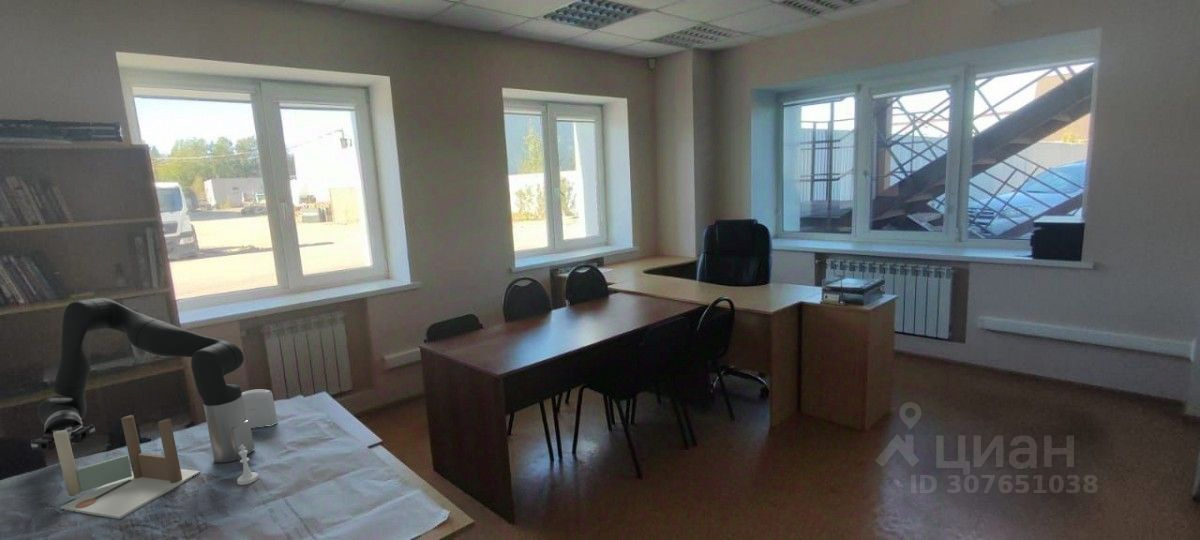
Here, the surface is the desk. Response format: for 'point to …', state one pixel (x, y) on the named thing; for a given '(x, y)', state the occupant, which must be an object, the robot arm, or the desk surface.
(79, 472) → the l-shaped bracket
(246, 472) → the chess piece
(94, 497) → the white board with posts
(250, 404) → the photo printer
